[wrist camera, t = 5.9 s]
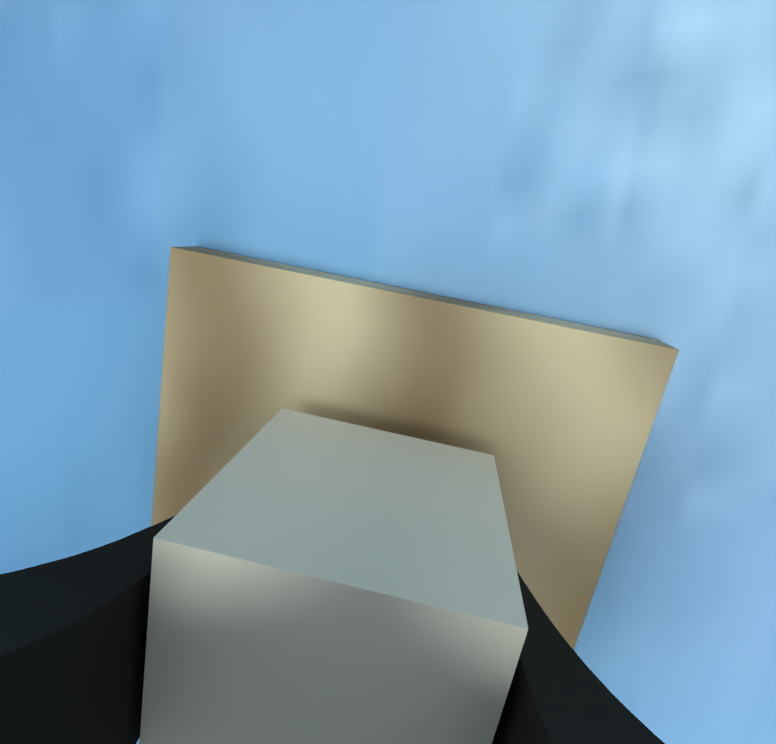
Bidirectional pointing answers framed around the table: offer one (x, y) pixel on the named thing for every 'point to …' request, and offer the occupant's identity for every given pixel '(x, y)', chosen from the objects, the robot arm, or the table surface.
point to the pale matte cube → (334, 595)
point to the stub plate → (414, 397)
